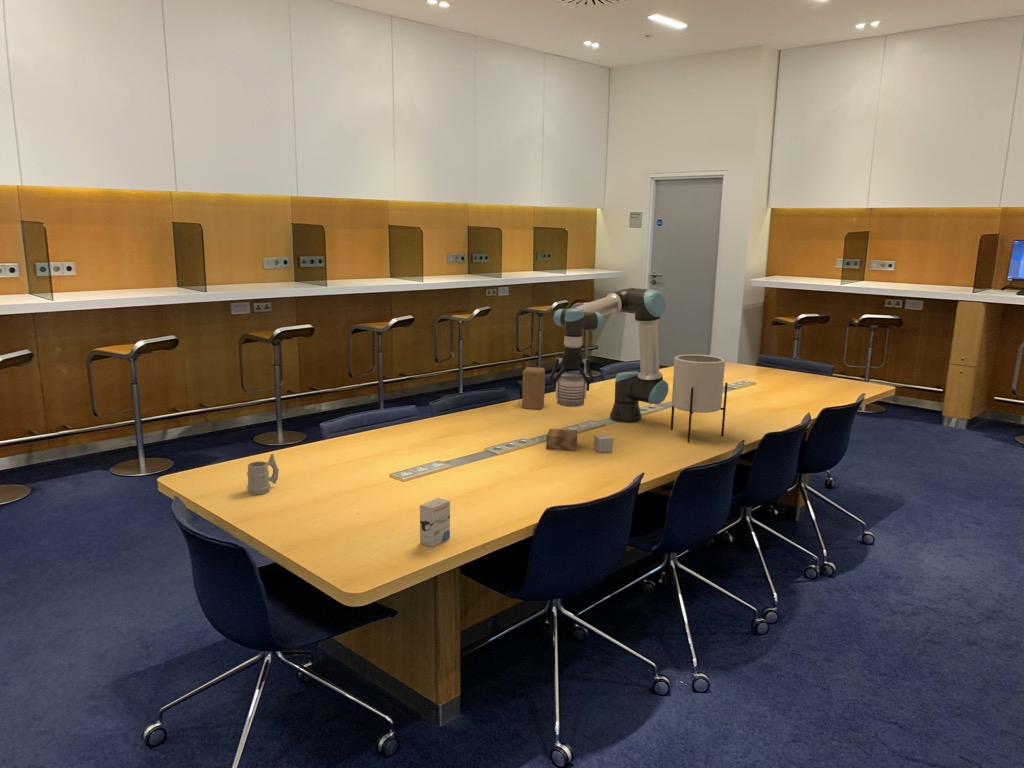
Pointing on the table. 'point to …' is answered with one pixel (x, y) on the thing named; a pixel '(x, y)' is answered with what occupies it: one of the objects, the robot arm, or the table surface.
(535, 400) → the wooden block
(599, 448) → the slate block
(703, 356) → the plant pot with stand
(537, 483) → the table surface
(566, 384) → the can
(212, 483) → the table surface
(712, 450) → the table surface
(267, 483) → the mug
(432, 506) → the ink box
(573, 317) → the robot arm
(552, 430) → the walnut block
